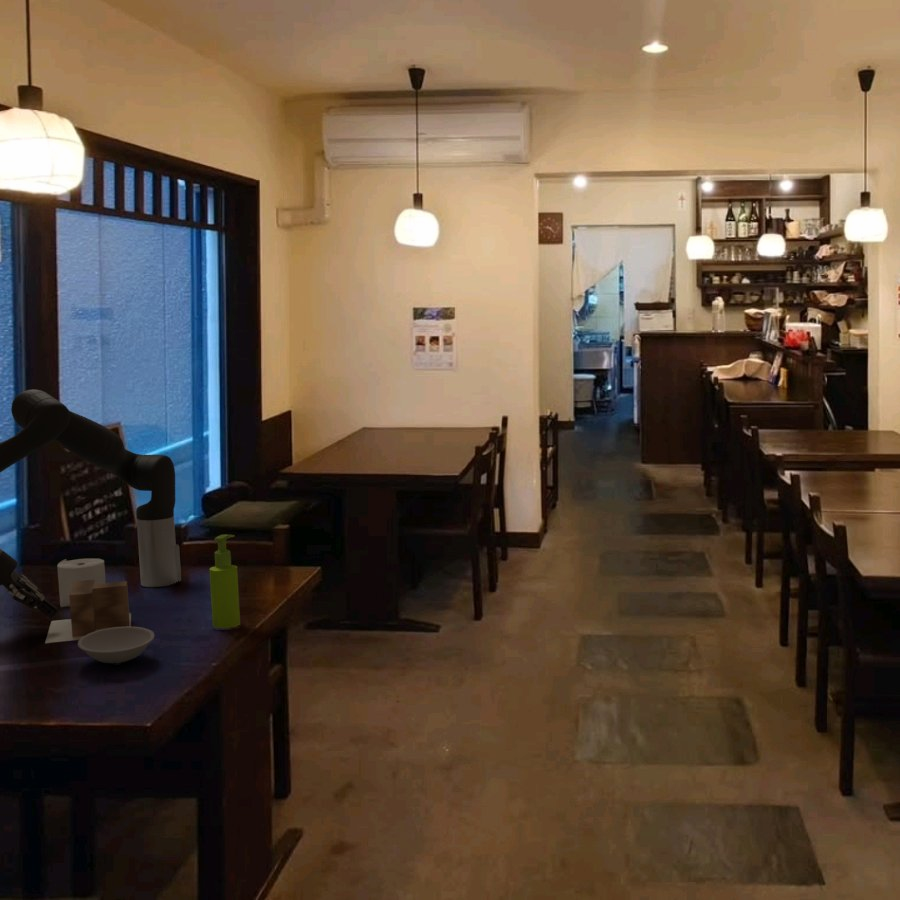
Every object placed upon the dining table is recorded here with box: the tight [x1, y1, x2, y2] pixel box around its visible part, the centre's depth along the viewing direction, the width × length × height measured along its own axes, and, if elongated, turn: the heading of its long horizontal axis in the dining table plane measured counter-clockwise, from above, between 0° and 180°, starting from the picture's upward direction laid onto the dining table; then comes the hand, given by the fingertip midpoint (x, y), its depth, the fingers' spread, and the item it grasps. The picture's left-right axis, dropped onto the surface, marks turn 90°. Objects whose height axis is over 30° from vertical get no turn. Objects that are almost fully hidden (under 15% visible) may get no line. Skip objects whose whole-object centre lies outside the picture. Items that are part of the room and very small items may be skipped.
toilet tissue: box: [57, 558, 107, 608], centre depth 259 cm, size 11×12×10 cm
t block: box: [69, 580, 130, 637], centre depth 234 cm, size 12×13×9 cm
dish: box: [77, 625, 156, 664], centre depth 211 cm, size 18×14×5 cm
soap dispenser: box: [209, 534, 241, 628], centre depth 235 cm, size 6×7×20 cm
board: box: [44, 612, 132, 644], centre depth 236 cm, size 30×18×1 cm, turn 106°
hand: (54, 613), depth 232 cm, fingers closed
